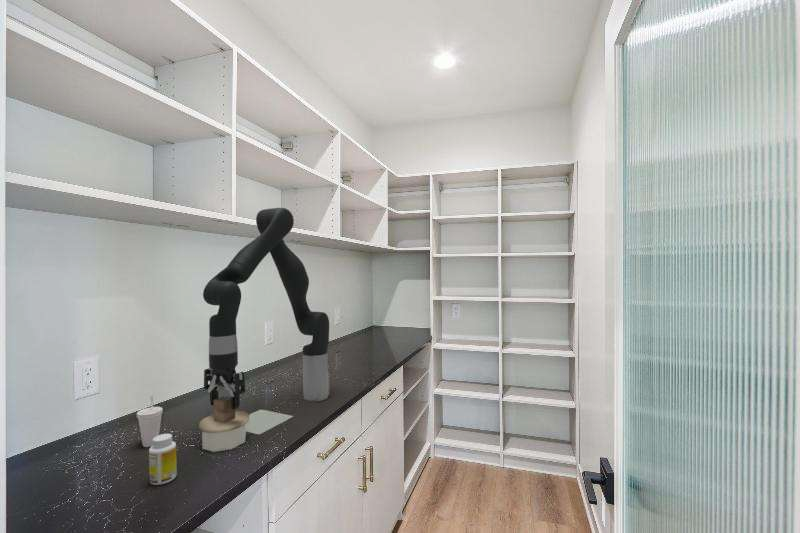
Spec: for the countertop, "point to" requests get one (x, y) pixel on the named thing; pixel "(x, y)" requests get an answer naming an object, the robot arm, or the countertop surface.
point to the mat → (264, 421)
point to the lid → (223, 417)
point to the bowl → (223, 439)
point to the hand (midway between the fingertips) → (224, 406)
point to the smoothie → (149, 423)
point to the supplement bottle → (162, 460)
